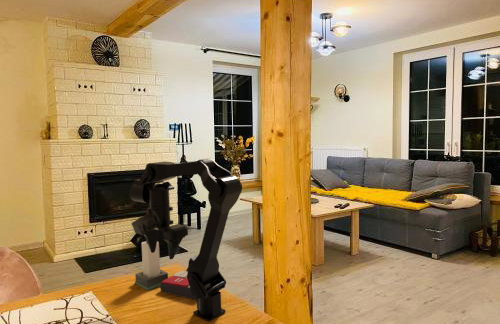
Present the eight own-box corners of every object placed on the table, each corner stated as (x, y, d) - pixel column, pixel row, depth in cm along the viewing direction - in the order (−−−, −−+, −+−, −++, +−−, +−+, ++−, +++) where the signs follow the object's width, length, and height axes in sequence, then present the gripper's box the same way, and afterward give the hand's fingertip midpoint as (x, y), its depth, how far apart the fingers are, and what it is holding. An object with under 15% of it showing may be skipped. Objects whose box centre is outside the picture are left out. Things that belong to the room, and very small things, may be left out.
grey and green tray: (169, 282, 123) (168, 272, 123) (147, 290, 117) (146, 280, 117) (156, 276, 128) (155, 266, 128) (135, 283, 123) (134, 273, 123)
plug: (160, 280, 123) (158, 238, 121) (149, 284, 120) (147, 241, 119) (154, 277, 126) (152, 236, 124) (143, 280, 123) (141, 239, 121)
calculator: (181, 269, 126) (218, 274, 119) (182, 281, 126) (219, 287, 119) (159, 281, 116) (198, 287, 109) (160, 294, 116) (199, 301, 109)
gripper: (118, 205, 109) (120, 256, 111) (155, 213, 97) (157, 271, 99) (150, 199, 118) (152, 247, 119) (188, 206, 106) (190, 259, 107)
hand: (162, 255), depth 111 cm, fingers open, 9 cm apart
